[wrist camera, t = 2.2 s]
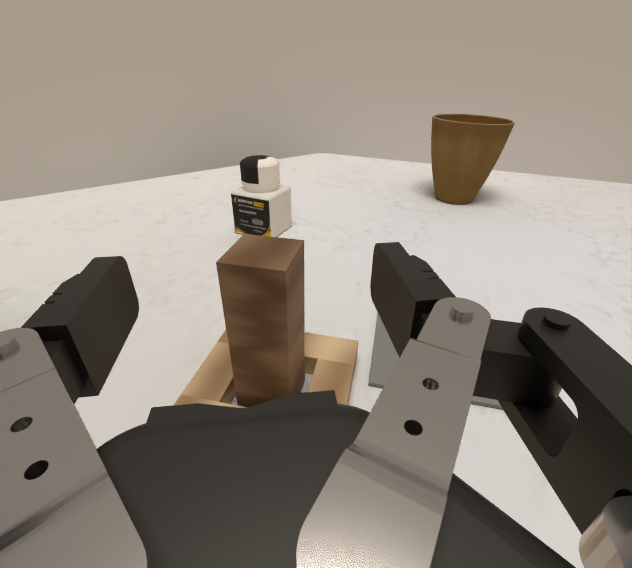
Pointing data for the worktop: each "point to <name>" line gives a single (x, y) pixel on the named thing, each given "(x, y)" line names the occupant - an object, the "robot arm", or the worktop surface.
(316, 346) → the oak socket
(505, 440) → the worktop surface
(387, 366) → the grey mat
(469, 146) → the plant pot
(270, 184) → the medicine bottle
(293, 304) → the walnut post
